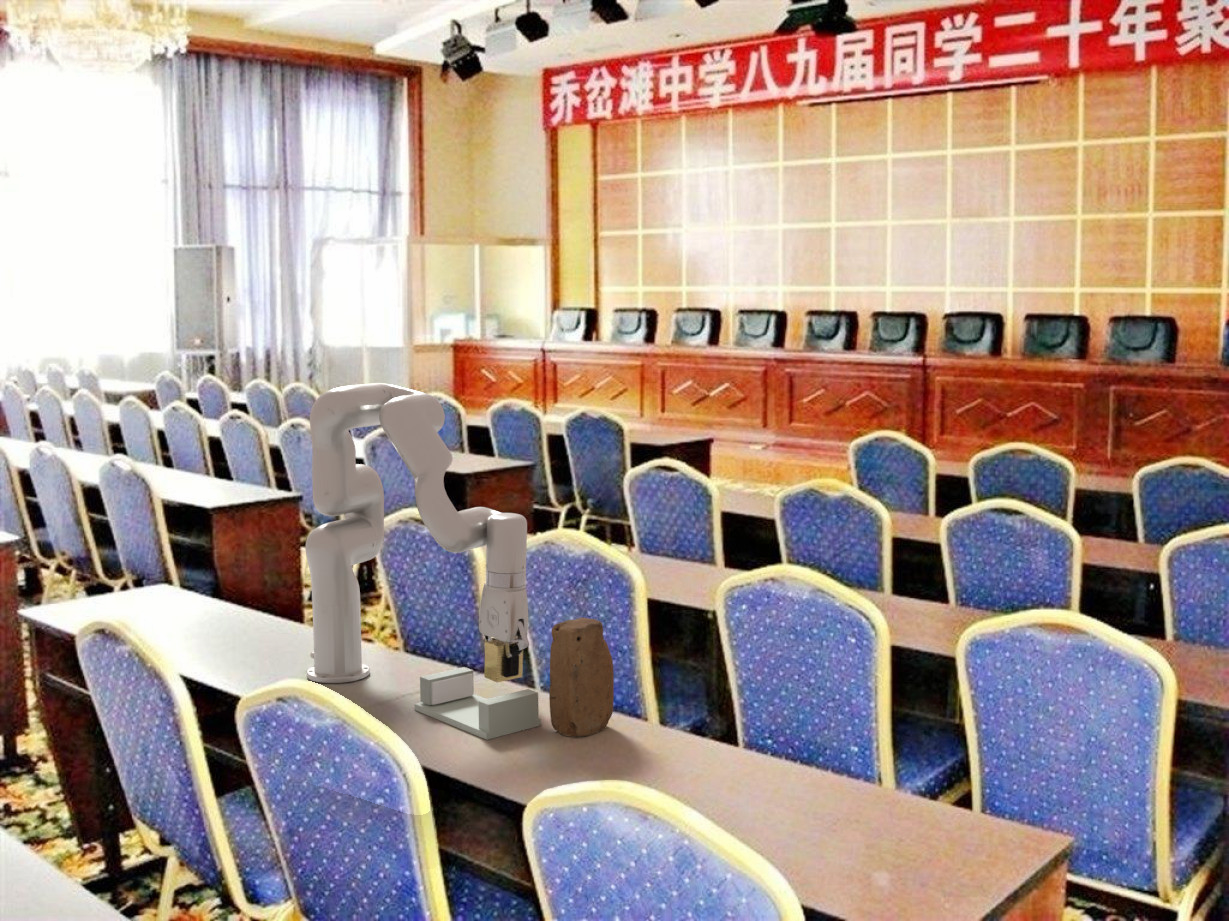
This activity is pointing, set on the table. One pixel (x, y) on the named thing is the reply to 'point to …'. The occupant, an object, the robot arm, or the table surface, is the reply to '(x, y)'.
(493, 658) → the tan rectangular workpiece
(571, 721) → the block
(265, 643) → the table surface
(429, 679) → the sliding jaw
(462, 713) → the vise body
